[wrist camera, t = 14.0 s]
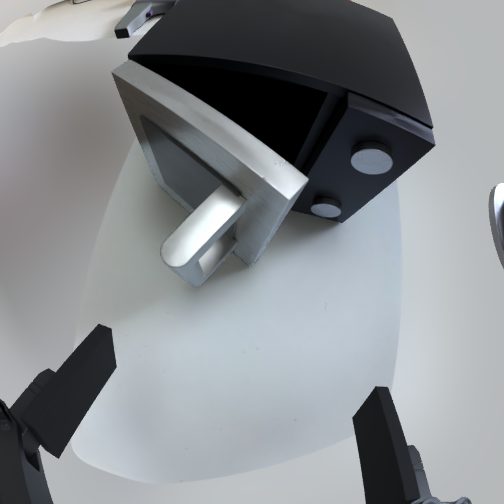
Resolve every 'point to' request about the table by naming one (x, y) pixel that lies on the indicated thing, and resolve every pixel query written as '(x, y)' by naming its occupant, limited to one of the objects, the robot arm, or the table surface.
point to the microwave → (303, 88)
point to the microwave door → (207, 174)
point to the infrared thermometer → (141, 15)
